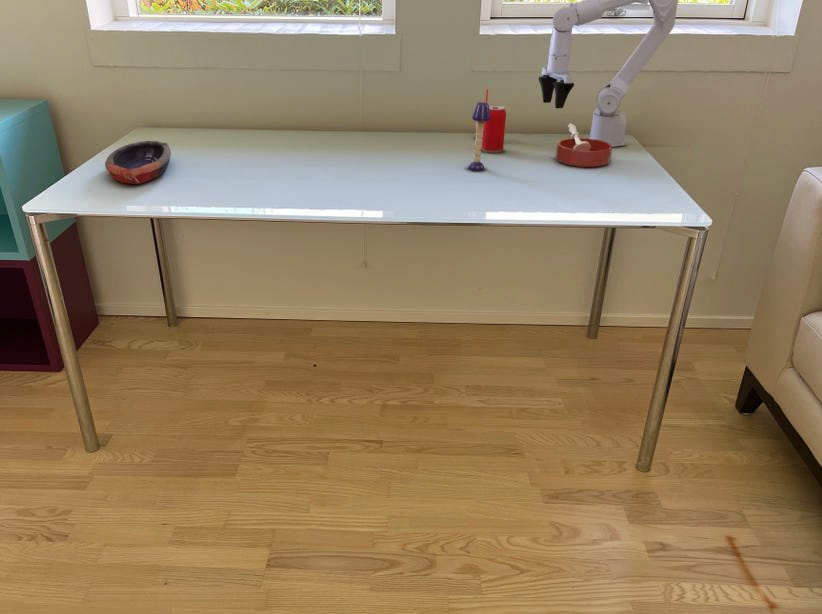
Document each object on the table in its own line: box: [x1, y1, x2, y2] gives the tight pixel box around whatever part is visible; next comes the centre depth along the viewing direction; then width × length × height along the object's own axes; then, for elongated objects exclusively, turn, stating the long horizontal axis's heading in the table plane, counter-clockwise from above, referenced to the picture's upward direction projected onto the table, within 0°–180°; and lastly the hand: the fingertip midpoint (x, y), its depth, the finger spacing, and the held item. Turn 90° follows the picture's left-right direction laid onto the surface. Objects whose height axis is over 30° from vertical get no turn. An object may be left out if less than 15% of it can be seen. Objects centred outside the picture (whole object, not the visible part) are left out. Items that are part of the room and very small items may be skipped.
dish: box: [104, 140, 172, 185], centre depth 186 cm, size 16×31×5 cm, turn 4°
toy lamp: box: [467, 101, 490, 172], centre depth 186 cm, size 5×5×17 cm
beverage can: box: [481, 104, 507, 154], centre depth 203 cm, size 6×6×12 cm
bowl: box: [555, 137, 613, 168], centre depth 196 cm, size 14×14×4 cm
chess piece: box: [567, 122, 591, 151], centre depth 199 cm, size 5×5×10 cm
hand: (552, 105), depth 210 cm, fingers open, 7 cm apart
